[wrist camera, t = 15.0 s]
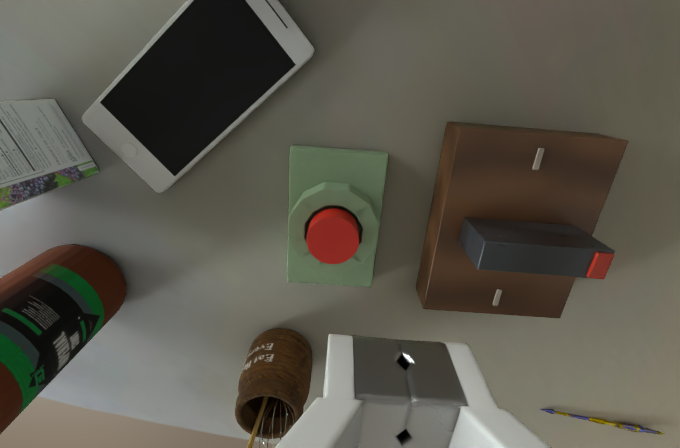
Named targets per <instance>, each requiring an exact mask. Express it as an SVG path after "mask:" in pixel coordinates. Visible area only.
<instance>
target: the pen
mask: <svg viewBox="0 0 680 448" xmlns="http://www.w3.org/2000/svg"><path fill="white" fill-rule="evenodd" d="M541 410H543V411H546V412H548V413H551V414H555V413H556V414H561V415H565V416H570V417H575V418H579V419H584V420H589V421H592V422H596V423H600V424H608V425H613V426H615V427H618V428H621V429H622V428H623V429H625V430H626V429H627V430H629V431H631V430H632V431H634V432H647V433H654V434H664V433H661V432H659V431H655V430H650V429H647V428H643V427H642V426H640V425H635V424H629V423H628V424H627V423H623V422H610V421H607V420H605V419H599V418H592V417H585V416H579V415H573V414H568V413H562V412H557V411H554V410H552V409H541Z"/></svg>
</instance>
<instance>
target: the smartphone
mask: <svg viewBox="0 0 680 448" xmlns="http://www.w3.org/2000/svg"><path fill="white" fill-rule="evenodd" d="M314 52H315V49H314V47H313V46H312V45H311V43H310V42H309V41H308V39H307V38H306V37H305V35H304V34H303V33H302V31H301V30H300V29H299V27H298V26H297V25H296V23H295V22H294V21H293V19H292V18H291V17H290V15H289V14H288V13H287V11H286V10H285V9H284V7H283V6H282V5H281V3H280V2H279V1H278V0H187V1H186V3H185V4H184V5H183V6H182V7H181V8H180V9H179V10H178V11H177V12H176V13H175V15H174V16H173V17H172V18H171V19H170V20H169V21H168V22H167V23H166V24H165V25H164V27H163V28H162V29H161V30H160V31H159V32H158V33H157V34H156V35H155V36H154V37H153V39H152V40H151V41H150V42H149V43H148V44H147V45H146V46H145V47H144V48H143V49H142V51H141V52H140V53H139V54H138V55H137V56H136V57H135V58H134V59H133V60H132V61H131V63H130V64H129V65H128V66H127V67H126V68H125V69H124V70H123V71H122V72H121V73H120V75H119V76H118V77H117V78H116V79H115V80H114V81H113V82H112V83H111V84H110V85H109V87H108V88H107V89H106V90H105V91H104V92H103V93H102V94H101V95H100V96H99V97H98V99H97V100H96V101H95V102H94V103H93V104H92V105H91V106H90V107H89V108H88V109H87V111H86V112H85V113H84V114H83V117H82V121H83V123H84V124H85V125H86V126H87V127H88V128H89V129H90V130H91V131H93V132H94V133H95V134H96V135H97V136H98V137H99V138H100V139H101V140H102V141H103V142H104V143H105V144H106V145H107V146H108V147H109V148H110V149H111V150H112V151H113V152H115V153H116V154H117V155H118V156H119V157H120V158H121V159H122V160H123V161H124V162H125V163H126V164H127V165H128V166H129V167H130V168H131V169H132V170H133V171H134V172H136V173H137V174H138V175H139V176H140V177H141V178H142V179H143V180H144V181H145V182H146V183H147V184H148V185H149V186H150V187H151V188H152V189H153V190H154V191H155V192H157V193H161V192H164V191H165V190H167V189H168V188H170V187H171V186H172V185H173V184H174V183H175V182H176V181H177V180H178V179H180V178H181V177H182V176H183V175H184V174H185V173H186V172H187V171H188V170H189V169H190V168H192V167H193V166H194V165H195V164H196V163H197V162H198V161H199V160H200V159H201V158H203V157H204V156H205V155H206V154H207V153H208V152H209V151H210V150H211V149H212V148H213V147H215V146H216V145H217V144H218V143H219V142H220V141H221V140H222V139H223V138H224V137H225V136H227V135H228V134H229V133H230V132H231V131H232V130H233V129H234V128H235V127H236V126H238V125H239V124H240V123H241V122H242V121H243V120H244V119H245V118H246V117H247V116H248V115H250V114H251V113H252V112H253V111H254V110H255V109H256V108H257V107H258V106H259V105H260V104H262V103H263V102H264V101H265V100H266V99H267V98H268V97H269V96H270V95H271V94H273V93H274V92H275V91H276V90H277V89H278V88H279V87H280V86H281V85H282V84H283V83H285V82H286V81H287V80H288V79H289V78H290V77H291V76H292V75H293V74H294V73H295V72H297V71H298V70H299V69H300V68H301V67H302V66H303V65H304V64H305V63H306V62H308V61H309V60H310V59H311V57H312V56H313V54H314Z"/></svg>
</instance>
